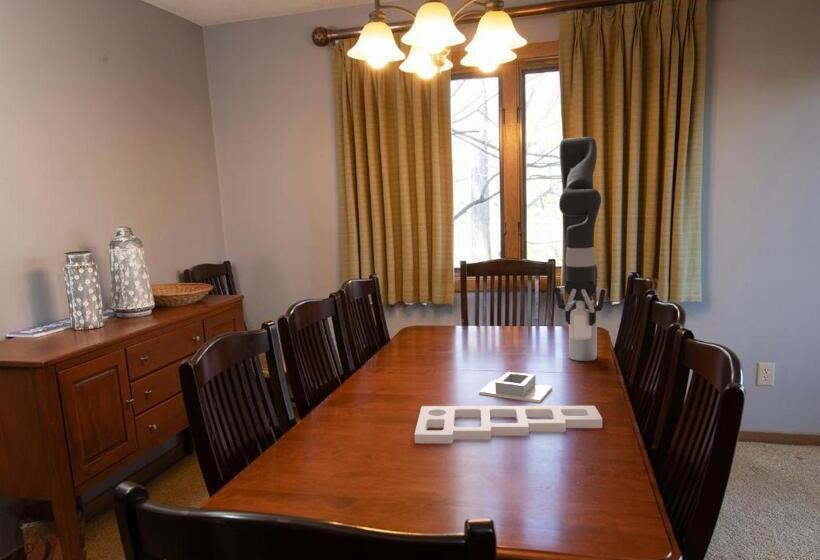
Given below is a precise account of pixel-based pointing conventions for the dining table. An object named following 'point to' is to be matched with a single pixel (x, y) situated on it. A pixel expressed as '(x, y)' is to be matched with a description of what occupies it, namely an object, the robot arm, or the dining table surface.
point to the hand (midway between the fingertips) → (580, 324)
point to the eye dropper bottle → (580, 322)
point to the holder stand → (517, 388)
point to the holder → (447, 414)
